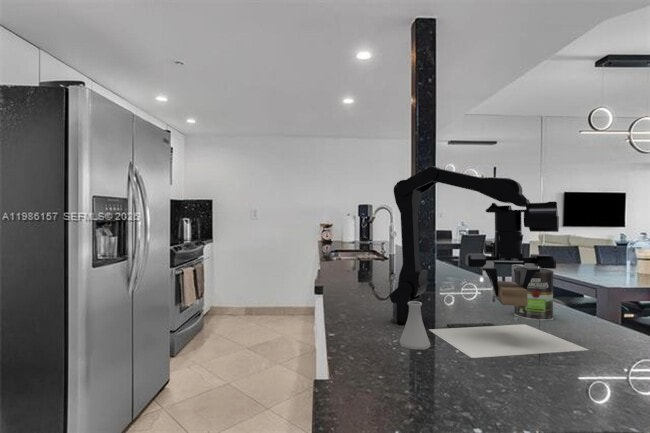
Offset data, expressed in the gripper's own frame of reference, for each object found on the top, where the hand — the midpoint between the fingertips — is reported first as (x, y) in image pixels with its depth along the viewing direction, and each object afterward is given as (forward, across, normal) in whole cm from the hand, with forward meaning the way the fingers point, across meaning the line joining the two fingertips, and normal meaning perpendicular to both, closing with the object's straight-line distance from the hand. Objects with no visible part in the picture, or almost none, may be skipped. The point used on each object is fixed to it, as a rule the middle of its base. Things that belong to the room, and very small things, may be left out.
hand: (508, 297), depth 88 cm
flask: (+11, +22, +9) cm, 26 cm away
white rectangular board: (+10, +2, 0) cm, 11 cm away
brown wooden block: (+1, 0, 0) cm, 1 cm away
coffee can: (+11, -12, -26) cm, 30 cm away
